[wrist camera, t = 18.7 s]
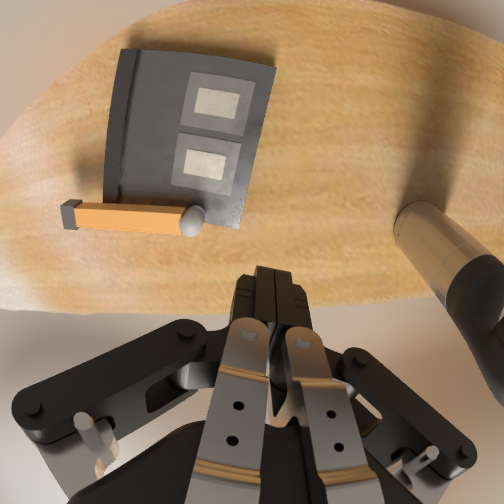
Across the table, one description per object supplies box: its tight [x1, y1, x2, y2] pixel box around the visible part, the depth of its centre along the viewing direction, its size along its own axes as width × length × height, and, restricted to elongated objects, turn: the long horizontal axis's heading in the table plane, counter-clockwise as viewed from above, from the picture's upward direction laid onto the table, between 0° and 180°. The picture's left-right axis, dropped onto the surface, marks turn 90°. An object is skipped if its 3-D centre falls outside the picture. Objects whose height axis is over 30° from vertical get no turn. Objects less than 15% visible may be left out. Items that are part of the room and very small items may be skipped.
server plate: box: [103, 49, 277, 229], centre depth 36 cm, size 20×22×4 cm
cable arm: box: [60, 199, 205, 237], centre depth 37 cm, size 4×21×3 cm, turn 85°
